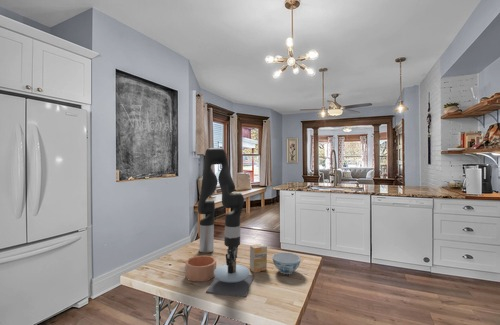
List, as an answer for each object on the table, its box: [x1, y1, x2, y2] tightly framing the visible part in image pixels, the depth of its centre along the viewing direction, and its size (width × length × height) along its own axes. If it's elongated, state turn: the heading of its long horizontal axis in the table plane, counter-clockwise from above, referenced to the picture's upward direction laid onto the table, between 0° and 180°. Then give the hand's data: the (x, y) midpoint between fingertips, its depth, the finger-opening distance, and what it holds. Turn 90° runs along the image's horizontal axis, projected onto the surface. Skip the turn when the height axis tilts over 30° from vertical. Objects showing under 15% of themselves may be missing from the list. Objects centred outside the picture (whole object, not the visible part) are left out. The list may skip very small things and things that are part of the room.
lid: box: [213, 260, 251, 282], centre depth 115 cm, size 17×17×6 cm
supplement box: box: [249, 243, 268, 273], centre depth 131 cm, size 8×5×13 cm, turn 117°
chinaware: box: [272, 251, 302, 275], centre depth 129 cm, size 15×15×8 cm
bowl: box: [185, 255, 217, 283], centre depth 124 cm, size 15×15×7 cm
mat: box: [206, 274, 255, 298], centre depth 115 cm, size 20×18×1 cm
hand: (231, 270), depth 115 cm, fingers closed on lid, 4 cm apart
